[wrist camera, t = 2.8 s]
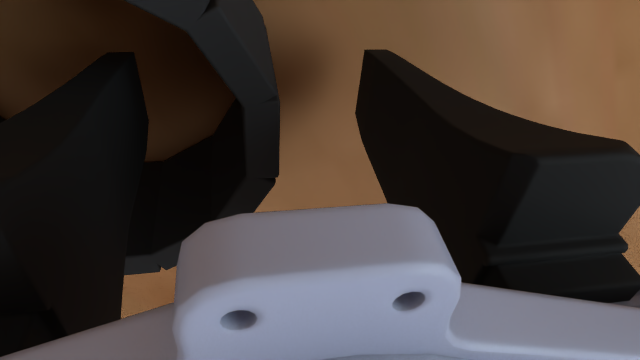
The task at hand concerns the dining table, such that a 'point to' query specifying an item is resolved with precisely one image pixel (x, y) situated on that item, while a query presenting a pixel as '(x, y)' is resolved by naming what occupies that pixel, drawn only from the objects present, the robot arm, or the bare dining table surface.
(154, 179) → the black ring
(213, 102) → the dining table surface
